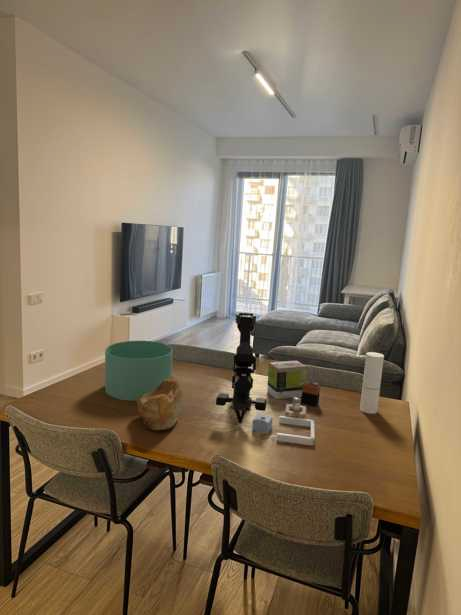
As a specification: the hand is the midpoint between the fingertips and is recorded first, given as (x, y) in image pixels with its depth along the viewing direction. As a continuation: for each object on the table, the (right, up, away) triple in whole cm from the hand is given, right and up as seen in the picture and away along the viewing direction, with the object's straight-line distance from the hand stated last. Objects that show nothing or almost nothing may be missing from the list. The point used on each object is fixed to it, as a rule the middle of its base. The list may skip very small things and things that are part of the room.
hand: (240, 422), depth 161 cm
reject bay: (+21, -3, -3) cm, 21 cm away
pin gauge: (+22, 0, +9) cm, 24 cm away
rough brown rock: (-32, +1, +1) cm, 32 cm away
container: (-45, +7, +32) cm, 56 cm away
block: (+8, -2, -1) cm, 9 cm away
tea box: (+22, +3, +35) cm, 41 cm away
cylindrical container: (+56, -1, +22) cm, 60 cm away
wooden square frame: (+22, -1, +9) cm, 24 cm away
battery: (+31, +1, +25) cm, 40 cm away
